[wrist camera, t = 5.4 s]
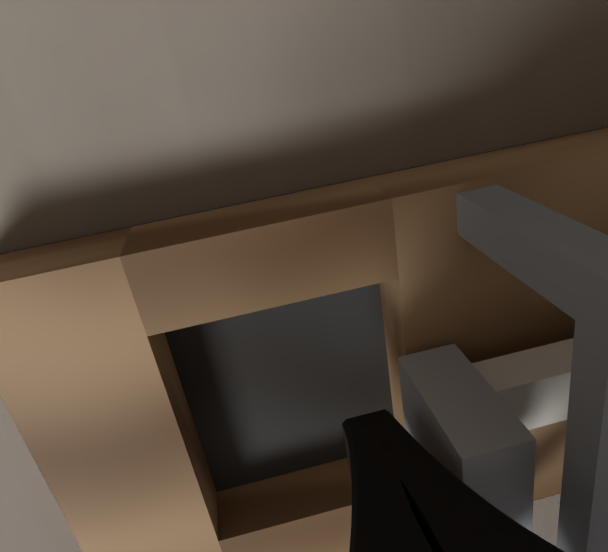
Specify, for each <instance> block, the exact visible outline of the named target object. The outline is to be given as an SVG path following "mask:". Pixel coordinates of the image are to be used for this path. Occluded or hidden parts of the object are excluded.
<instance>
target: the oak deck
mask: <svg viewBox="0 0 608 552" xmlns="http://www.w3.org/2000/svg"><path fill="white" fill-rule="evenodd" d="M497 184H498V185H500V186H502V187H504V188H506V189H509V190H511V191H513V192H515V193H517V194H519V195H522V196H524V197H526V198H528V199H530V200H532V201H535V202H537V203H539V204H541V205H543V206H545V207H548V208H550V209H552V210H554V211H556V212H558V213H561V214H563V215H565V216H567V217H569V218H572V219H574V220H576V221H578V222H580V223H582V224H585V225H587V226H589V227H591V228H593V229H595V230H598V231H600V232H602V233H604V234H606V235H608V127H606V128H602V129H597V130H592V131H587V132H582V133H578V134H573V135H568V136H563V137H559V138H554V139H549V140H544V141H539V142H535V143H530V144H525V145H520V146H516V147H511V148H506V149H501V150H496V151H492V152H487V153H482V154H477V155H473V156H468V157H463V158H458V159H453V160H449V161H444V162H439V163H434V164H430V165H425V166H420V167H415V168H410V169H406V170H401V171H396V172H391V173H387V174H382V175H377V176H372V177H367V178H363V179H358V180H353V181H348V182H344V183H339V184H334V185H329V186H324V187H320V188H315V189H310V190H305V191H301V192H296V193H291V194H286V195H281V196H277V197H272V198H267V199H262V200H257V201H253V202H248V203H243V204H238V205H234V206H229V207H224V208H219V209H214V210H210V211H205V212H200V213H195V214H191V215H186V216H181V217H176V218H171V219H167V220H162V221H157V222H152V223H148V224H143V225H138V226H133V227H128V228H124V229H119V230H114V231H109V232H105V233H100V234H95V235H90V236H85V237H81V238H76V239H71V240H66V241H62V242H57V243H52V244H47V245H42V246H38V247H33V248H28V249H23V250H19V251H14V252H9V253H4V254H0V396H1V398H2V400H3V402H4V404H5V406H6V407H7V409H8V411H9V413H10V415H11V417H12V419H13V421H14V423H15V424H16V426H17V428H18V430H19V432H20V434H21V436H22V438H23V440H24V442H25V443H26V445H27V447H28V449H29V451H30V453H31V455H32V457H33V459H34V460H35V462H36V464H37V466H38V468H39V470H40V472H41V474H42V476H43V478H44V479H45V481H46V483H47V485H48V487H49V489H50V491H51V493H52V495H53V496H54V498H55V500H56V502H57V504H58V506H59V508H60V510H61V512H62V514H63V515H64V517H65V519H66V521H67V523H68V525H69V527H70V529H71V531H72V532H73V534H74V536H75V538H76V540H77V542H78V544H79V546H80V548H81V550H82V551H83V552H349V549H350V536H351V514H352V481H351V476H350V470H349V464H348V458H347V452H346V446H345V440H344V434H343V428H342V423H343V422H344V421H345V420H346V419H348V418H352V417H356V416H360V415H364V414H368V413H372V412H376V411H380V410H383V409H385V410H387V411H389V412H390V413H391V414H392V415H393V417H394V418H395V419H396V420H397V421H398V422H399V423H400V424H401V425H402V426H403V427H404V428H405V426H404V416H403V406H402V395H401V385H400V375H399V364H398V357H401V356H405V355H409V354H413V353H417V352H421V351H425V350H429V349H434V348H438V347H442V346H446V345H450V344H454V343H455V344H456V346H457V347H458V348H459V349H460V350H461V351H462V353H463V354H464V355H465V356H466V357H467V359H468V360H469V361H470V362H471V363H475V362H479V361H483V360H487V359H491V358H495V357H499V356H503V355H507V354H511V353H515V352H519V351H523V350H527V349H531V348H535V347H539V346H543V345H547V344H551V343H555V342H559V341H563V340H567V339H571V338H574V330H575V320H574V319H573V318H571V317H570V316H569V315H567V314H566V313H565V312H563V311H562V310H560V309H559V308H558V307H556V306H555V305H554V304H552V303H551V302H549V301H548V300H547V299H545V298H544V297H543V296H541V295H540V294H538V293H537V292H536V291H534V290H533V289H532V288H530V287H529V286H528V285H526V284H525V283H523V282H522V281H521V280H519V279H518V278H517V277H515V276H514V275H512V274H511V273H510V272H508V271H507V270H506V269H504V268H503V267H502V266H500V265H499V264H497V263H496V262H495V261H493V260H492V259H491V258H489V257H488V256H486V255H485V254H484V253H482V252H481V251H480V250H478V249H477V248H475V247H474V246H473V245H471V244H470V243H469V242H467V241H466V240H465V239H463V238H462V237H460V236H459V235H458V234H457V208H456V193H460V192H464V191H469V190H474V189H478V188H483V187H488V186H492V185H497ZM566 426H567V420H564V421H560V422H557V423H553V424H549V425H545V426H542V427H538V428H534V429H530V430H529V431H530V432H531V434H532V435H533V436H534V437H535V438H536V456H535V476H534V495H533V501H535V500H539V499H542V498H546V497H549V496H553V495H556V494H560V493H561V486H562V474H563V462H564V450H565V438H566Z"/></svg>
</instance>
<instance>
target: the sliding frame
mask: <svg viewBox="0 0 608 552" xmlns="http://www.w3.org/2000/svg"><path fill="white" fill-rule="evenodd" d="M573 342H574V338H571V339H567V340H563V341H559V342H555V343H551V344H547V345H543V346H539V347H535V348H531V349H527V350H523V351H519V352H515V353H511V354H507V355H503V356H499V357H495V358H491V359H487V360H483V361H479V362H475V363H471V362H470V361H469V360H468V359H467V357H466V356H465V355H464V354H463V353H462V351H461V350H460V349H459V348H458V347H457V346H456V344H455V343H454V344H450V345H446V346H442V347H438V348H434V349H429V350H425V351H421V352H417V353H413V354H409V355H405V356H401V357H398V364H399V375H400V385H401V395H402V406H403V416H404V426H405V429H406V430H407V431H408V432H409V434H410V435H411V436H412V437H414V438H415V439H416V440H417V441H418V442H419V443H420V444H421V445H422V446H423V447H424V448H425V449H426V450H427V451H428V452H429V453H430V454H431V455H432V456H434V457H435V458H436V459H437V460H438V461H439V462H440V463H441V464H443V465H444V466H445V467H446V468H447V469H448V470H449V471H450V472H452V473H453V474H454V475H455V476H456V477H458V478H459V479H460V480H461V481H462V482H464V483H465V484H466V485H467V486H469V487H470V488H471V489H472V490H474V491H475V492H476V493H477V494H479V495H480V496H481V497H483V498H484V499H485V500H487V501H488V502H489V503H491V504H492V505H493V506H495V507H496V508H497V509H499V510H500V511H502V512H503V513H504V514H506V515H507V516H509V517H510V518H512V519H513V520H515V521H516V522H518V523H519V524H521V525H522V526H524V527H525V528H527V529H528V530H530V531H531V532H532V515H533V495H534V476H535V456H536V438H535V437H534V436H533V435H532V434H531V432H530V431H529V430H530V429H534V428H538V427H542V426H545V425H549V424H553V423H557V422H560V421H564V420H567V414H568V402H569V390H570V378H571V366H572V354H573Z"/></svg>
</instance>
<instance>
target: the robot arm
mask: <svg viewBox="0 0 608 552" xmlns="http://www.w3.org/2000/svg"><path fill="white" fill-rule="evenodd" d="M342 428H343V434H344V440H345V446H346V452H347V458H348V464H349V470H350V476H351V481H352V514H351V536H350V549H349V552H565V551H563V550H561V549H559V548H558V547H556V546H554V545H552V544H551V543H549V542H547V541H545V540H544V539H542V538H541V537H539V536H538V535H536V534H534V533H533V532H531V531H530V530H528V529H527V528H525V527H524V526H522V525H521V524H519V523H518V522H516V521H515V520H513V519H512V518H510V517H509V516H507V515H506V514H504V513H503V512H502V511H500V510H499V509H497V508H496V507H495V506H493V505H492V504H491V503H489V502H488V501H487V500H485V499H484V498H483V497H481V496H480V495H479V494H477V493H476V492H475V491H474V490H472V489H471V488H470V487H469V486H467V485H466V484H465V483H464V482H462V481H461V480H460V479H459V478H458V477H456V476H455V475H454V474H453V473H452V472H450V471H449V470H448V469H447V468H446V467H445V466H444V465H443V464H441V463H440V462H439V461H438V460H437V459H436V458H435V457H434V456H432V455H431V454H430V453H429V452H428V451H427V450H426V449H425V448H424V447H423V446H422V445H421V444H420V443H419V442H418V441H417V440H416V439H415V438H414V437H412V436H411V435H410V434H409V432H408V431H407V430H406V429H405V428H404V427H403V426H402V425H401V424H400V423H399V422H398V421H397V420H396V419H395V418H394V417H393V415H392V414H391V413H390V412H389V411H387V410H385V409H383V410H380V411H376V412H372V413H368V414H364V415H360V416H356V417H352V418H348V419H346V420H345V421H344V422H343V423H342Z"/></svg>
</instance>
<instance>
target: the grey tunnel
mask: <svg viewBox="0 0 608 552" xmlns="http://www.w3.org/2000/svg"><path fill="white" fill-rule="evenodd" d="M456 208H457V234H458V235H459V236H460V237H462V238H463V239H465V240H466V241H467V242H469V243H470V244H471V245H473V246H474V247H475V248H477V249H478V250H480V251H481V252H482V253H484V254H485V255H486V256H488V257H489V258H491V259H492V260H493V261H495V262H496V263H497V264H499V265H500V266H502V267H503V268H504V269H506V270H507V271H508V272H510V273H511V274H512V275H514V276H515V277H517V278H518V279H519V280H521V281H522V282H523V283H525V284H526V285H528V286H529V287H530V288H532V289H533V290H534V291H536V292H537V293H538V294H540V295H541V296H543V297H544V298H545V299H547V300H548V301H549V302H551V303H552V304H554V305H555V306H556V307H558V308H559V309H560V310H562V311H563V312H565V313H566V314H567V315H569V316H570V317H571V318H573V319H574V320H575V330H574V342H573V354H572V366H571V378H570V390H569V402H568V414H567V426H566V438H565V450H564V462H563V474H562V486H561V498H560V510H559V522H558V534H557V546H556V547H558V548H559V549H561V550H563V551H565V552H608V235H606V234H604V233H602V232H600V231H598V230H595V229H593V228H591V227H589V226H587V225H585V224H582V223H580V222H578V221H576V220H574V219H572V218H569V217H567V216H565V215H563V214H561V213H558V212H556V211H554V210H552V209H550V208H548V207H545V206H543V205H541V204H539V203H537V202H535V201H532V200H530V199H528V198H526V197H524V196H522V195H519V194H517V193H515V192H513V191H511V190H509V189H506V188H504V187H502V186H500V185H498V184H497V185H492V186H488V187H483V188H478V189H474V190H469V191H464V192H460V193H456Z"/></svg>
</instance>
